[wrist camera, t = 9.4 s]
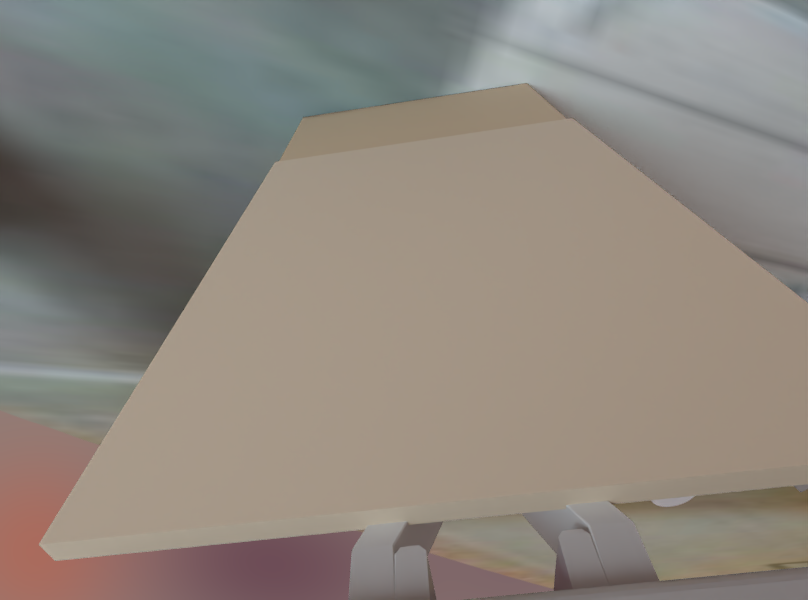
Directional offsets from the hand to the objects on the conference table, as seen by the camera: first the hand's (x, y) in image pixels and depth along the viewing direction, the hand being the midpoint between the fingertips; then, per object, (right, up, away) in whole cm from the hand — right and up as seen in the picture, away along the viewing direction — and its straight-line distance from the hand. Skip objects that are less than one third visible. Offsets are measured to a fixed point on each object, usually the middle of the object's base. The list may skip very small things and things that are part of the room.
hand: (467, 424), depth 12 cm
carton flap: (0, +5, +7) cm, 9 cm away
